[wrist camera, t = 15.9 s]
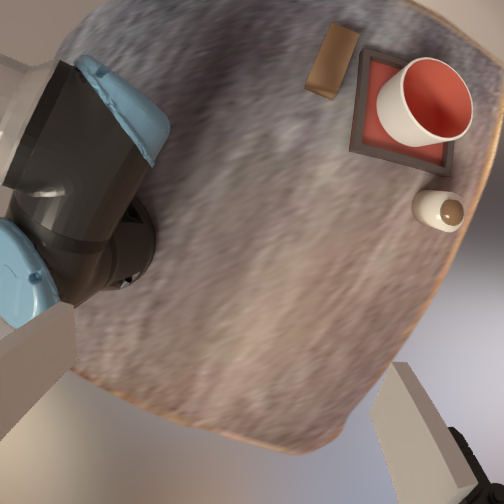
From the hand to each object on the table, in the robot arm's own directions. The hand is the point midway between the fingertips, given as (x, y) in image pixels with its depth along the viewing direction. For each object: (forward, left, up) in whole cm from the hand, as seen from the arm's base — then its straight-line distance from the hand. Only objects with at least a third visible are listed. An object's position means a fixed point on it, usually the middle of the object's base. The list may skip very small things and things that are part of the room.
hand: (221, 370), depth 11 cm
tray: (+18, +20, -32) cm, 42 cm away
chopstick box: (+6, +25, -32) cm, 41 cm away
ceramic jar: (+23, +8, -32) cm, 40 cm away
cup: (+18, +20, -31) cm, 41 cm away
